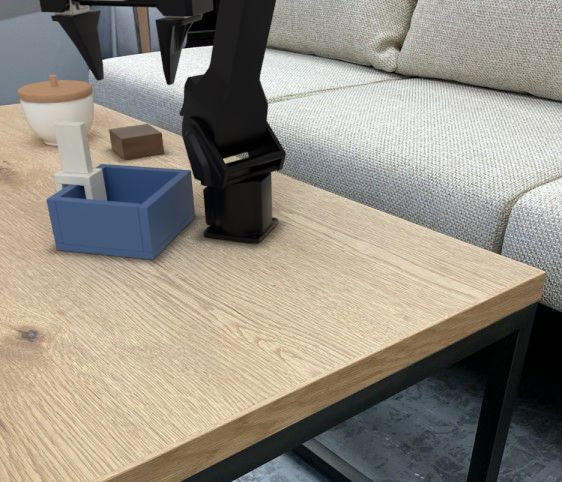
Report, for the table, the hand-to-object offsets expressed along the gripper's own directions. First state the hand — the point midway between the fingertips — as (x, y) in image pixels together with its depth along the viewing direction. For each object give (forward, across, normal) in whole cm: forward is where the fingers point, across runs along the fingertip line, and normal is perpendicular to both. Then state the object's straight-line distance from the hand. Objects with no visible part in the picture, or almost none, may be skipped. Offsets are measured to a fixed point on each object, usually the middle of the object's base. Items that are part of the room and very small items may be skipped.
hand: (134, 82), depth 81 cm
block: (+13, +10, -15) cm, 22 cm away
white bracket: (+11, 0, +13) cm, 17 cm away
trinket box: (+13, +24, -17) cm, 32 cm away
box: (+13, -4, +12) cm, 19 cm away
